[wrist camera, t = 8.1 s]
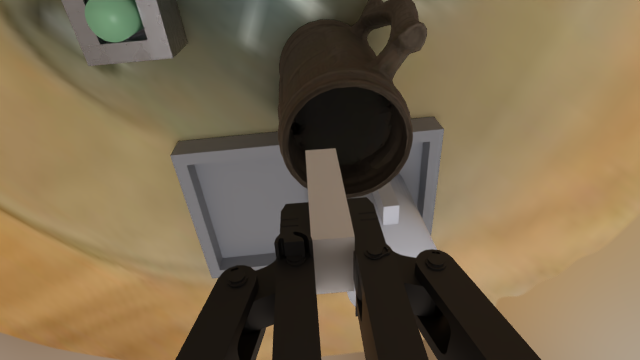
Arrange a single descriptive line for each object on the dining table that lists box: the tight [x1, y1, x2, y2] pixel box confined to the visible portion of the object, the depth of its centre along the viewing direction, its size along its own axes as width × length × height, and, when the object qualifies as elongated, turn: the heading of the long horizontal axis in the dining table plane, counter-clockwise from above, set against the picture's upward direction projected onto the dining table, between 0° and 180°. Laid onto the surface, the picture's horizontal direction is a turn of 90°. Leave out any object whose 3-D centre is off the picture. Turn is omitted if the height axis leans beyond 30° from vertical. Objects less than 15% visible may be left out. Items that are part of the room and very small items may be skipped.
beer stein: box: [278, 0, 427, 198], centre depth 34 cm, size 15×11×20 cm
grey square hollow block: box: [61, 0, 188, 66], centre depth 35 cm, size 8×8×6 cm
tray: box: [170, 117, 444, 278], centre depth 51 cm, size 32×21×4 cm, turn 94°
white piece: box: [346, 174, 437, 307], centre depth 44 cm, size 10×13×16 cm
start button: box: [85, 0, 144, 42], centre depth 34 cm, size 4×4×6 cm
